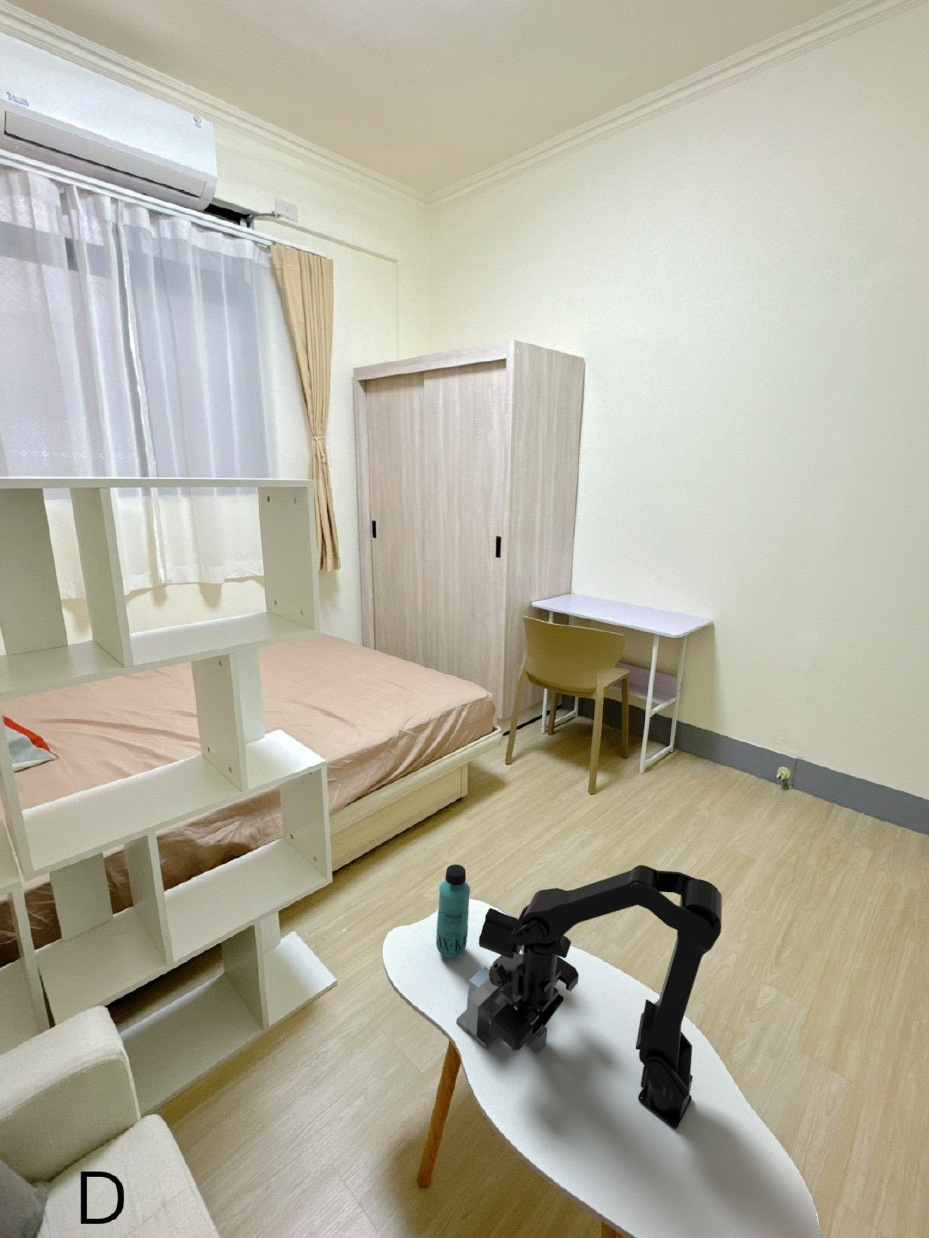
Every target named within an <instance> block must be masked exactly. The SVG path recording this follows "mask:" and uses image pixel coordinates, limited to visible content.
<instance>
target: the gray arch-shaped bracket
mask: <svg viewBox="0 0 929 1238" xmlns="http://www.w3.org/2000/svg"><path fill="white" fill-rule="evenodd" d="M499 991H501V992H502V993H503V994H504V995H506V996H507V997H508V998H509V999H511V1000H512V1001H513V1002H517V1001H518V1000H519V999H520V998H521V996H520V995H519V996H516V995H515V994H514V993H512V987H511V986H508V985H506V984H505V985H504V986H503V987H502V988H500V987H498V986H495V985H493V984H492V983H491V982H490V978H488V979H487V980H486V981H485V982H484V983H483V984H482V985H481V986H480V987H478V988H477V989H476V990H475V991H474V992H473V993H472V994H471V995H470V996H469V997H468V996H467V1003H466V1009H465V1010H464V1011H463V1012H462V1013H461V1014H460V1015H459V1016H458V1017H456V1021H455V1022H456V1024H457V1026H458V1027H460V1028H461V1029H462V1030H463V1031H465V1032H466V1034H468V1036H470V1037H471V1038H472V1039H473V1040H474V1041H475V1042H477V1043H478V1044H479V1045H480V1046H481V1047H482V1048H483V1049H484V1050H487V1049H488V1047H490V1045H492V1043H493V1042H494V1041H495V1040H496V1039H497V1038H498V1037H499V1036H497V1035H496V1034H495V1033H494V1032H493V1031H492V1030H490V1017H491V1014H490V1008H491V999H492V998H493V997H494V996H495V995H496V994H497V993H498V992H499Z"/></svg>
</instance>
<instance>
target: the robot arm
mask: <svg viewBox="0 0 929 1238" xmlns="http://www.w3.org/2000/svg"><path fill="white" fill-rule="evenodd" d="M663 893H673V894H677V895H679V896H680V899H679V905H677V904H676V903H674V902H673V901H672V900H670V898H668V897H667V896H665V894H663ZM636 906H639V907H642V908H644V909H646V910H649V911H650V912H651V913H652V914H653V915H654V916H656V917H657V918H658V919H659V920H660V921H661V922H662V923H663V924H664V925H666V927H670V928H671V929H673V930H676V939H675V942H674V946H673V950H672V952H671V953H672V954H671V957H670V961H669V964H668V967H667V971H666V973H665V974H666V975H665V977H664V980H663V984H662V987H661V988H662V989H661V991H660V995H659V998H658V1001H655V1002H652V1001H651V1000H649V999H645V1004H644V1008H643V1009H644V1010H643V1012H642V1013H641V1014H640V1019H639V1025H638V1030H637V1031H638V1032H637V1038H636V1043H635V1049H636V1050H637V1051H638V1050H639V1052H638V1058H639V1062H641V1063H642V1065H643V1067H642V1073H641V1080H640V1087H641V1088H642V1089H641V1091H640V1092H639V1094H638V1097H637V1099H638V1102H640V1103H641V1104H643V1106H645V1107H646V1108H647V1109H649V1110H650V1111H651V1112H652V1113H654V1114H655V1115H656V1116H657V1117H659V1118H660V1119H661V1120H662V1121H664V1122H665V1123H666V1124H668V1125H669V1126H670V1127H671V1128H672V1129H674V1130H677V1129H678V1128H679V1125H680V1124H681V1122H682V1120H683V1118H684V1116H685V1114H686V1112H687V1110H688V1108H689V1106H690V1105H691V1102H692V1099H693V1097H692V1095H691V1094H690V1093H691V1090H692V1089H691V1088H692V1083H693V1079H694V1078H693V1075H692V1074H691V1073H692V1055H693V1044H692V1043H691V1042H690V1040H689V1039H688V1038H687V1036H685V1034H684V1033H683V1032H682V1023H683V1020H684V1017H685V1013H686V1012H687V1008H688V1004H689V1001H690V998H691V994H692V991H693V988H694V985H695V984H694V983H695V981H696V977H697V975H698V971H699V967H700V965H701V962H702V958H703V956H704V955H705V954H707V953H708V952H709V951H711V950H712V949H713V947H714V945H715V944H716V942H717V940H718V939H719V937H720V935H721V933H722V917H723V916H722V914H723V913H722V912H723V911H722V909H723V907H722V906H723V896H722V893H721V892H720V891H719V888H717V887H716V886H715V885H714V884H713V883H711V882H709V881H708V880H704V879H700V878H696V877H693V876H690V875H688V874H685V873H683V872H679V871H673V870H672V871H669V870H657V869H655V868H652V867H650V866H648V865H644V864H641V865H640V864H639V865H637V866H634V867H633V868H632V869H631V870H627V871H624V872H621V873H618V874H616V875H612V876H609V877H606V878H604V879H601V880H598V881H595V882H592V883H588V884H586V885H583V886H580V887H578V888H574V889H569V890H566V889H563V888H559V887H553V888H546V889H541V890H538V891H536V892H535V893H534V894H533V897H532V899H531V901H530V903H528V904H527V905H526V906H524V907H523V909H522V911H521V912H520V915H519V916H518V918H517V917H514V916H511V915H508V914H506V913H503V912H500V911H499V910H497V909H495V908H492V907H490V908H488V910H487V911H486V914H485V918H484V922H483V925H482V928H481V933H480V935H479V937H478V945H479V947H480V948H482V949H485V950H488V951H490V952H492V953H495V954H498V955H499V956H498V957H497V958H496V959H495V960H494V961H493V963H492V965H491V966H490V967H489V970H490V971H489V978H490V982H491V983H492V984H493V985H495V986H498V987H500V988H502V987H503V986H504V985H505V984H506V985H508V986H511V987H512V993H514V994H515V995H516V996H519V995H520V996H521V998H520V999H519V1000H518V1001H517V1002H514V1003H513V1004H512V1005H510V1004H509V1003H503V1004H502V1005H501V1006H500V1007H499V1008H498V1009H497V1010H496V1011H495V1012H494V1013H493V1014H492V1015H491V1014H490V1021H489V1023H490V1030H492V1031H493V1032H494V1033H495V1034H496V1035H497V1036H498V1037H499V1039H501V1040H502V1041H503V1042H504V1043H506V1044H507V1045H508V1046H509V1047H510V1048H511V1049H512V1050H513V1051H520V1050H521V1049H522V1048H523V1047H524V1046H525V1045H526V1042H527V1043H529V1044H531V1043H532V1041H533V1040H534V1038H535V1037H536V1035H537V1033H538V1032H539V1030H540V1029H541V1027H542V1026H543V1025H544V1026H545V1027H546V1026H547V1024H548V1023H549V1021H550V1020H551V1018H552V1017H554V1015H555V1013H556V1012H557V1010H558V1009H559V1007H560V1006H561V1005H562V1004H563V1003H564V1000H565V997H564V996H563V995H561V994H560V993H559V992H560V991H559V987H558V985H557V983H558V982H559V981H560V982H562V984H564V985H565V990H566V991H568V992H572V990H574V988H575V987H576V986H577V985H578V983H579V978H580V977H579V972H578V970H577V968H576V967H575V966H573V965H572V964H571V963H569V962H568V961H566V960H565V959H566V958H567V956H568V954H569V950H570V947H571V944H572V941H571V939H569V937H567V936H565V935H566V933H568V932H569V931H570V930H572V928H573V927H574V926H576V925H578V924H580V923H583V922H586V921H589V920H593V919H596V918H599V917H603V916H606V915H609V914H613V913H616V912H620V911H623V910H626V909H630V908H632V907H633V908H634V907H636ZM522 945H524V952H523V954H522V953H520V952H521V948H522ZM563 958H564V959H563Z"/></svg>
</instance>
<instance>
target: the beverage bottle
mask: <svg viewBox="0 0 929 1238" xmlns="http://www.w3.org/2000/svg"><path fill="white" fill-rule="evenodd" d="M438 888H439V890H438V891H439V895H438V908H437V909H438V910H437V919H436V931H435V932H436V933H435V935H436V936H435V937H436V941H435V946H436V949H437V951H438V952H439V954H440V955H443V956H444V957H445V958H458V957H460V956H461V955H463V953H464V952H465V950H466V948H467V943H468V941H467V940H468V933H469V932H468V931H469V930H468V929H469V919H470V918H469V914H470V913H469V912H470V911H469V907H470V906H469V905H470V893H471V887H470V885H469V884H468V883H467V876H466V868H465V867H464V866H462V865H461V864H455V863H454V864H451V865H449V866H448V867H447V868H446V871H445V880H443V881H442V882H441V883H440V885H439V887H438Z"/></svg>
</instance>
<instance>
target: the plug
mask: <svg viewBox="0 0 929 1238" xmlns="http://www.w3.org/2000/svg"><path fill="white" fill-rule="evenodd" d="M489 971H490V968H489V969H488V967H486V966H483V967H482V968H481V969H480V970H479V971H478V972H476V973H475V974H474V975H473V976H472V977H471V978H470V979H469V980H468V993H467V994H468V995H467V998H468V997H469V996H470V995H471V994H472V993H473V992H474V991H475V990H476V989H477V988H478V987H480V986H481V985H482V984H483V983H484V982H485V981H486V980H487V979H488V978H489ZM503 1003H509V1004H510V1005H512V1004H513V1003H514V1002H513V1001H512V1000H511V999H509V998H508V997H507V996H506V995H504V994H503V993H502V992H501V991H499V992H498V993H497V994H496V995H495V996H494V997H493V998H492V999H491V1008H490V1016H491V1015H492V1014H493V1013H494V1012H495V1011H496V1010H497V1009H498V1008H499V1007H500V1006H501V1005H502V1004H503ZM548 1029H549V1028H548V1027H546V1025H545V1026H544V1025H543V1026H542V1027H541V1029H540V1030H539V1032H538V1033H537V1035H536V1037H535V1038H534V1040H533V1041H532V1043H531V1044H529V1043H527V1042H526V1043H525V1045H527V1046H528V1047H529V1048H530V1049H531V1050H533V1052H535V1053H536V1054H539V1053H540V1052H541V1051H542V1050H543V1049H544V1048H545V1046H546V1045H547V1039H548Z"/></svg>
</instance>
